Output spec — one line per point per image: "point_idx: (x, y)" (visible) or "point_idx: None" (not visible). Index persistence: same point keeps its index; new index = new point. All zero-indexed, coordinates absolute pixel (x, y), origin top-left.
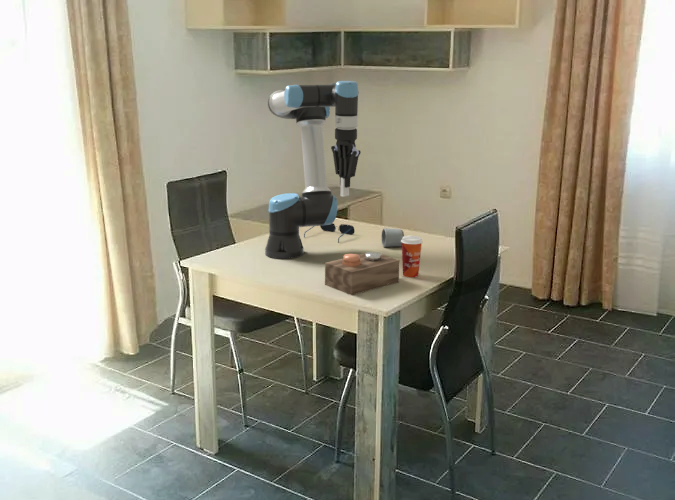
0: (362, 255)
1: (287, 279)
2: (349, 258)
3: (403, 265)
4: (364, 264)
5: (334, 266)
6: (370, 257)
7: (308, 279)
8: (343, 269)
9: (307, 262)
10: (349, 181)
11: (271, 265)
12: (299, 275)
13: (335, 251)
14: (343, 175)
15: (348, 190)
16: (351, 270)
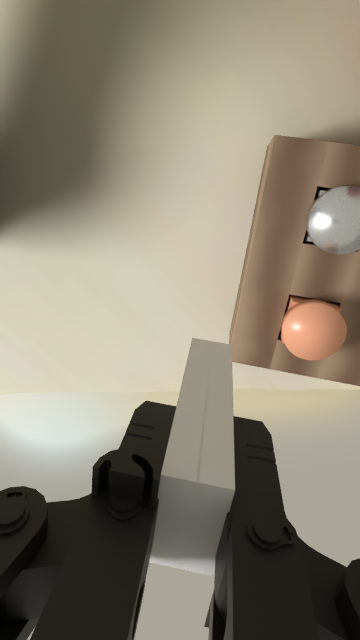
0: (276, 211)
1: (130, 357)
2: (323, 358)
3: None
4: (349, 297)
5: (274, 369)
6: (349, 252)
7: (167, 326)
8: (318, 377)
9: (49, 212)
10: (274, 489)
11: (15, 301)
12: (126, 316)
13: (3, 30)
14: (149, 555)
15: (229, 378)
16: (348, 373)
